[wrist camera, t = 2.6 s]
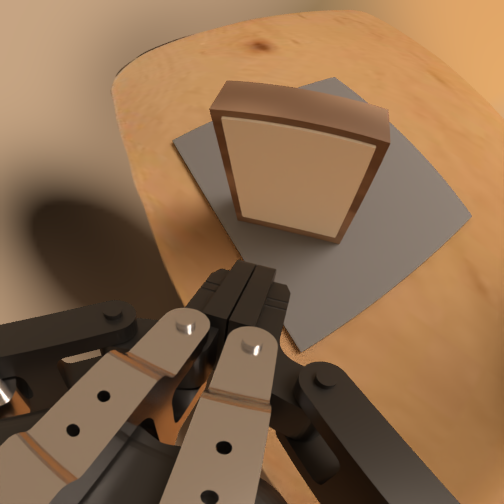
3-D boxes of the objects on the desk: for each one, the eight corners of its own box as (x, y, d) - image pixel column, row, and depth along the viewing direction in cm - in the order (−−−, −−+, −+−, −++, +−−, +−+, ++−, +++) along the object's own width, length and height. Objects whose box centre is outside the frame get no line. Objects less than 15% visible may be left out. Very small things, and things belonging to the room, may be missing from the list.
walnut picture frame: (246, 194, 28) (227, 80, 15) (343, 216, 26) (388, 109, 13) (237, 222, 27) (208, 111, 14) (339, 246, 25) (390, 145, 12)
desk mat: (334, 79, 35) (334, 76, 35) (470, 217, 26) (472, 216, 25) (173, 142, 32) (172, 140, 32) (300, 352, 23) (301, 352, 22)
